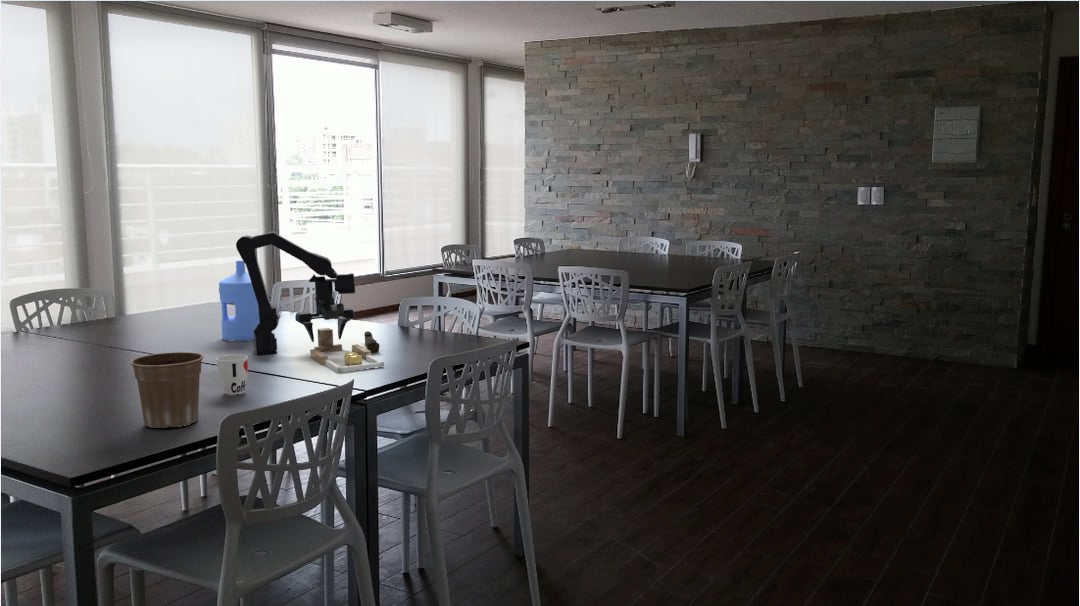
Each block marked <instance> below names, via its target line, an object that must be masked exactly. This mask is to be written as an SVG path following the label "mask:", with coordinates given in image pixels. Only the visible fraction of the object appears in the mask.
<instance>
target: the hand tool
mask: <svg viewBox="0 0 1080 606" xmlns="http://www.w3.org/2000/svg"><path fill="white" fill-rule="evenodd" d="M364 344H365V345H364V346H366V349H368V350H370V351H371V354H377V353H379V352H380V343H378V342H377V340H376V339H375V338H374V337H373V333H372V332H371V331H364ZM376 352H377V353H376Z"/></svg>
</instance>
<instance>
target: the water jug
mask: <svg viewBox="0 0 1080 606" xmlns="http://www.w3.org/2000/svg"><path fill="white" fill-rule="evenodd" d="M235 264H236V265H235V269H236V270H235V273H233V274H231V275H229V276H227V277H226V278H223V279H222V280H220V281H219V282H218V293H219V300H220V301H219V302H221V315H222V316H221V320H220V321H221V338H222V340H224V339H225V340H224V341H226V340H234V341H242V342H249V341H248V340H253V341H254V335H255V334H254V330H255V328H256V326H257V325H258V324H259V323H260V321H259V308H258V303H257V299H256V296H255V293H254V290H253V286H252V283H251V280H250V277H249V273H248V272H247V271H246V264H245V263H244V261H243V260H236V261H235ZM227 303H229V304H230V303H231V304H234V311H235V312H234V313H235V314H234V315H233V316H228V306H227V305H228V304H227ZM246 340H247V341H246Z"/></svg>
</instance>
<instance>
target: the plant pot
mask: <svg viewBox="0 0 1080 606" xmlns="http://www.w3.org/2000/svg"><path fill="white" fill-rule="evenodd" d="M203 359H204V355H203V354H201V353H199V352H189V351H188V352H187V351H186V352H184V351H183V352H181V351H180V352H179V351H177V352H176V351H175V352H163V353H162V352H161V353H154V354H153V353H152V354H147V355H142V356H138V357H136V358H133V359H131V360H130V365H131V366H132V368H133V373H134V377H135V379H136V381H137V387H138V392H139V399H140V405H141V406H140V407H141V412H142V417H143V425H144V426H145V427H146V426H148V427H152V428H167V429H168V428H173V427H179V426H184V425H188V424H191V423H194V422H196V421H197V420H198V421H199V403H200V402H199V401H200V397H199V396H200V376H201V373H202V362H203V361H202V360H203ZM198 421H197V422H198ZM197 422H196V423H197ZM194 424H195V423H194Z"/></svg>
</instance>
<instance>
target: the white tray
mask: <svg viewBox="0 0 1080 606" xmlns="http://www.w3.org/2000/svg"><path fill="white" fill-rule="evenodd" d="M365 360H366V361H367V360H368V361H367V362H369V361H370V362H369V363H362V364H361V365H353V366H346V365H344V366H340V365H338V364H336V363H335V362H333V360H330V359H328V360H325V363H326V364H325V366H327V367H328V368H330V369H332V370H333V372H336V373H338V374H342V373H348V372H349V373H350V371H351V372H356V371H355V370H359V371H362V370H361V369H367V368H375V367H382V366H384V367H385V363H384V361H381V360H380V359H378V358H376V357H374V356H372V354H371V355H366V359H365ZM371 362H372V363H371ZM375 369H376V368H375ZM367 370H368V369H367Z"/></svg>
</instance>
